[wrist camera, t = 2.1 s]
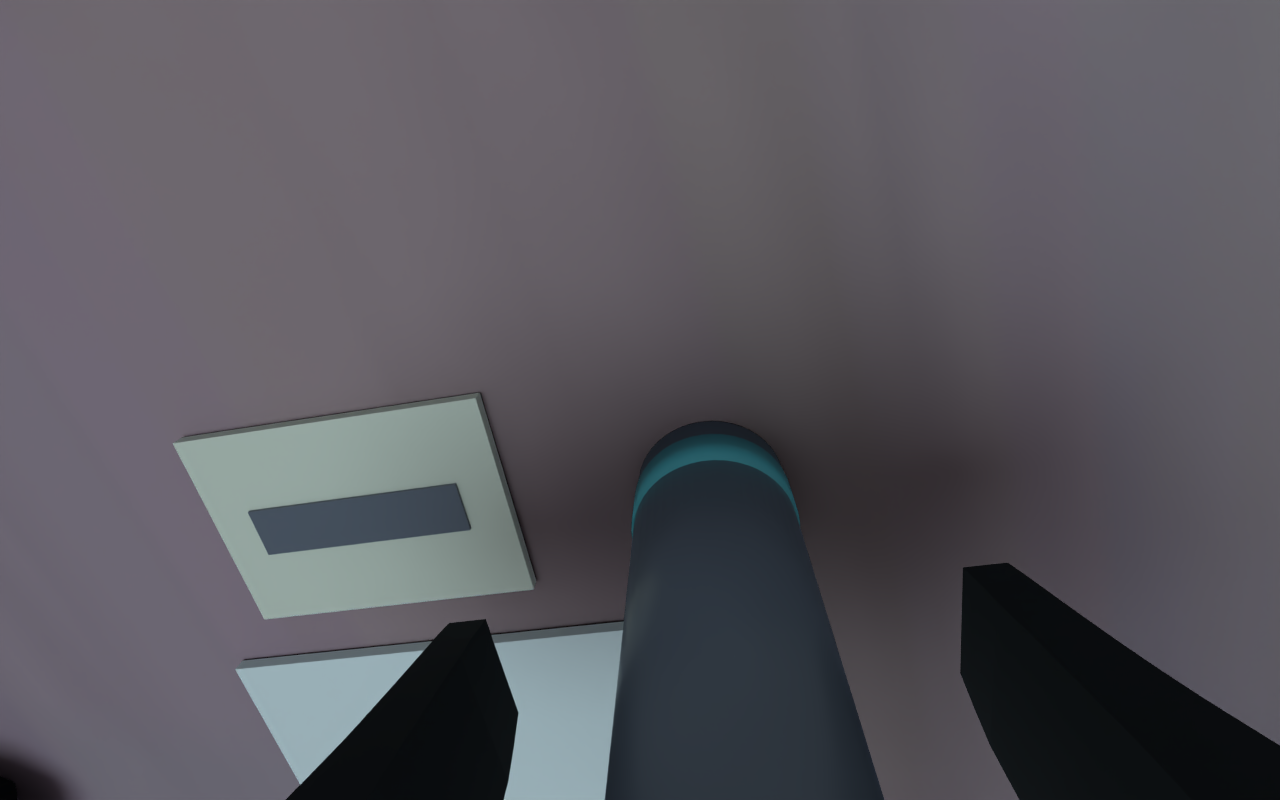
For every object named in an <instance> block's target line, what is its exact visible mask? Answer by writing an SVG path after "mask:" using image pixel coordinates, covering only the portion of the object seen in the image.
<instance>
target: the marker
mask: <svg viewBox="0 0 1280 800" xmlns="http://www.w3.org/2000/svg"><path fill="white" fill-rule="evenodd" d="M631 532H632V548H631V558H630V567H629V576H628V586H627V595H626V605H625V614H624V623H623V633H622V642H621V652H620V661H619V670H618V680H617V689H616V699H615V708H614V717H613V727H612V736H611V746H610V755H609V764H608V774H607V783H606V793H605V800H884V797H883V794H882V791H881V788H880V784H879V781H878V778H877V775H876V772H875V768H874V765H873V762H872V759H871V755H870V752H869V749H868V746H867V742H866V739H865V736H864V733H863V729H862V726H861V723H860V720H859V716H858V713H857V710H856V707H855V703H854V700H853V697H852V694H851V691H850V687H849V684H848V681H847V678H846V674H845V671H844V668H843V665H842V661H841V658H840V655H839V652H838V648H837V645H836V642H835V639H834V635H833V632H832V629H831V626H830V623H829V619H828V616H827V613H826V610H825V606H824V603H823V600H822V597H821V593H820V590H819V587H818V584H817V580H816V577H815V574H814V571H813V567H812V564H811V561H810V558H809V554H808V551H807V548H806V545H805V542H804V538H803V535H802V532H801V529H800V519H799V514H798V510H797V507H796V504H795V500H794V497H793V494H792V491H791V488H790V485H789V482H788V479H787V476H786V474H785V473H784V471H783V469H782V467H781V464H780V461H779V459H778V458H777V456H776V454H775V452H774V451H773V450H772V448H771V447H770V446H769V445H768V444H767V443H766V442H765V441H764V440H763V439H762V438H761V437H759V436H758V435H757V434H755V433H753V432H752V431H750V430H748V429H746V428H744V427H741V426H738V425H735V424H731V423H726V422H718V421H707V422H698V423H693V424H689V425H686V426H683V427H680V428H678V429H676V430H674V431H672V432H671V433H669V434H667V435H666V436H664V437H663V438H662V439H661V440H660V441H658V442H657V443H656V444H655V446H654V447H653V448H652V449H651V450H650V452H649V453H648V455H647V456H646V458H645V460H644V462H643V464H642V467H641V470H640V476H639V480H638V483H637V486H636V491H635V498H634V507H633V515H632V531H631Z"/></svg>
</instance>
